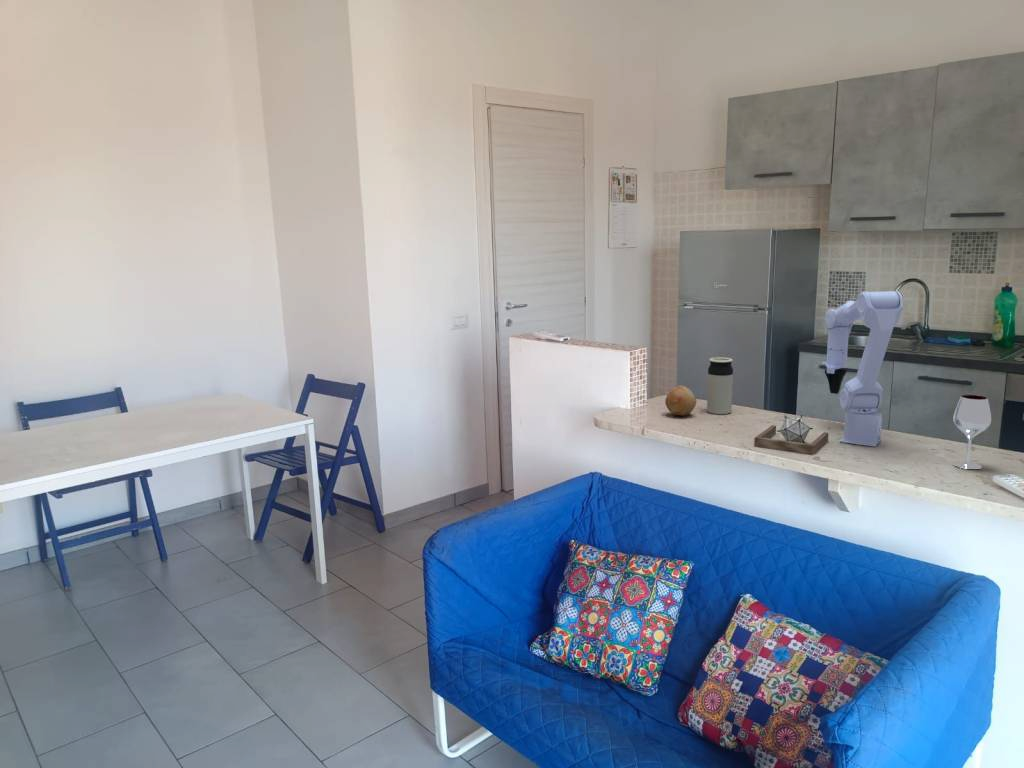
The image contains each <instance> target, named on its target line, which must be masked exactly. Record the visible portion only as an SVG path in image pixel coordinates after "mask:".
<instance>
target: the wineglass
mask: <svg viewBox="0 0 1024 768" xmlns="http://www.w3.org/2000/svg"><path fill="white" fill-rule="evenodd" d="M952 417H953V418H952V419H953V420H952V421H953V423H954V425H955V427H957V429H958V430H959V431H960V432H962V434H964V435H965V437H966V438H967V445H966V447H967V448H966V455H965V461H956V462H953V463H952V466H953V465H954V466H953V467H955V466H957V467H960V468H959V469H961V467H962V468H965V469H964V470H966V469H980V470H981V469H982V468H983V467H982V466H981V465H980V464H977V463H975V462H970V461H971V451H972V450H971V449H972V440H973V439H974V438H975V437H977V435H979V434H981V433H983V432H985V431H986V430H987V429H988V428H989V427H990V426H991V423H992V413H991V408H990V401H989V399H988V397H987V396H983V395H980V394H979V395H977V394H962V395H960V397H959V400H958V402H957V405H956V407H955V410H954V412H953V416H952ZM957 467H956V468H957Z"/></svg>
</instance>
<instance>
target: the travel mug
mask: <svg viewBox="0 0 1024 768" xmlns="http://www.w3.org/2000/svg"><path fill="white" fill-rule="evenodd" d="M708 360H709V363H710V365H709V366H708V369H707V396H706V397H707V399H706V412H708V413H710V414H712V413H713V415H719V414H720V415H728V413H729V414H730V413H732V407H733V406H732V405H733V404H732V403H733V378H734V368H733V366H732V362H733V359H732V358H730V357H722V356H721V357H720V356H719V357H711V358H709V359H708Z"/></svg>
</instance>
